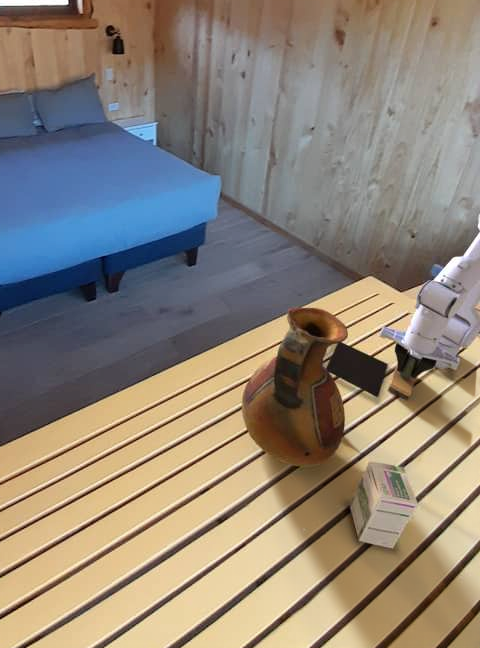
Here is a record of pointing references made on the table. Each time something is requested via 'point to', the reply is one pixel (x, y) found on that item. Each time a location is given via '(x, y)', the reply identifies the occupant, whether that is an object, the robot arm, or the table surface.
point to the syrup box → (382, 504)
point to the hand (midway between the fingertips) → (406, 371)
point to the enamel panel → (357, 368)
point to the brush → (404, 378)
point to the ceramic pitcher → (298, 393)
